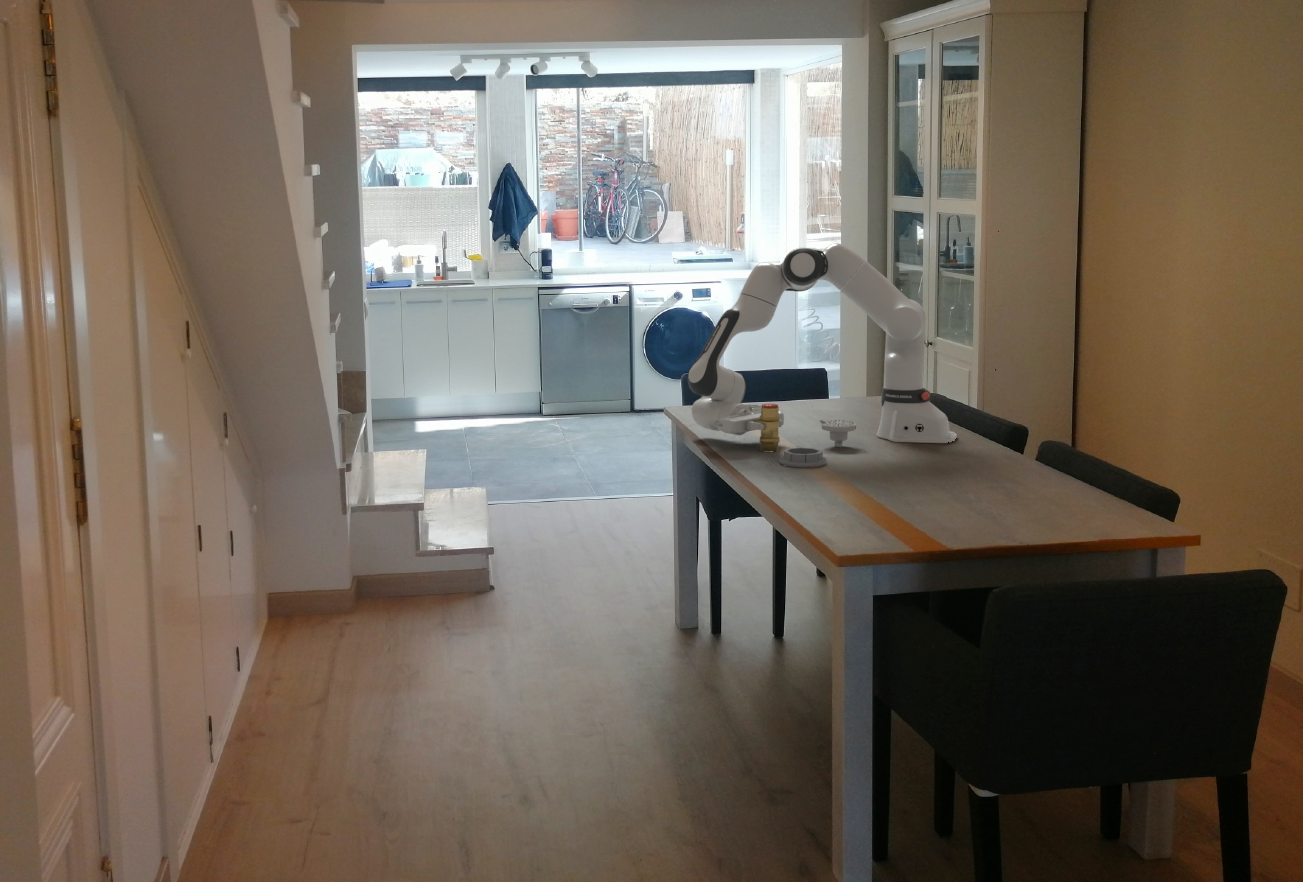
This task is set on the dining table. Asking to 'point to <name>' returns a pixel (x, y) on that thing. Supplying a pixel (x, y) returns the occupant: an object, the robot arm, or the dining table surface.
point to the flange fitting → (803, 457)
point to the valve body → (770, 427)
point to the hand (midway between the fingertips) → (772, 425)
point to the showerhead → (838, 430)
